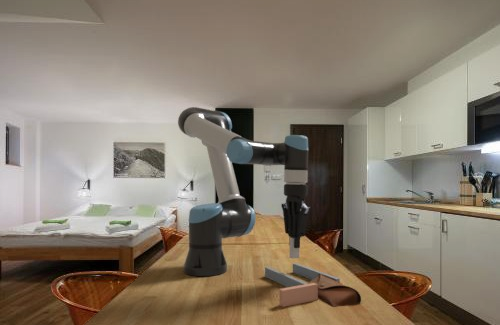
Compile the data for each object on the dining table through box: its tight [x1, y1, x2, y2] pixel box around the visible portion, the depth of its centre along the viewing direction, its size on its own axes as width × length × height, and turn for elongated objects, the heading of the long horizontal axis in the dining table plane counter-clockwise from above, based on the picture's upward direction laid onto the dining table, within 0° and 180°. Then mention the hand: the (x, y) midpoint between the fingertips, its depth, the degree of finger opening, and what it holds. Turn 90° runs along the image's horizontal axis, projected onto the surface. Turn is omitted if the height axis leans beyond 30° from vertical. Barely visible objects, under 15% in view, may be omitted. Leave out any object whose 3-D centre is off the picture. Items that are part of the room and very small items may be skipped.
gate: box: [278, 283, 319, 308], centre depth 87 cm, size 11×2×4 cm, turn 118°
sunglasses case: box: [306, 274, 362, 308], centre depth 93 cm, size 18×7×7 cm
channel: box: [264, 262, 341, 288], centre depth 105 cm, size 12×22×3 cm, turn 28°
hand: (294, 257), depth 107 cm, fingers closed
